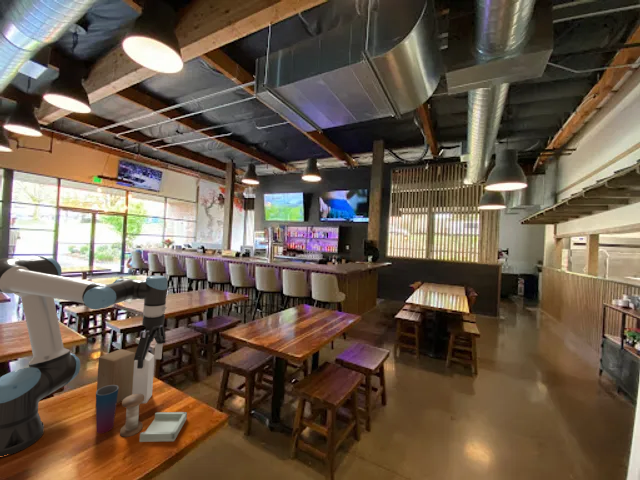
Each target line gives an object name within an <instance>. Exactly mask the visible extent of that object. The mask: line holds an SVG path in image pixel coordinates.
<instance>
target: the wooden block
mask: <svg viewBox="0 0 640 480" xmlns="http://www.w3.org/2000/svg"><path fill="white" fill-rule="evenodd" d="M135 354H136V352H133V351H130V350H127V349H121V348H120V349H117V350H114V351H111V352H109V353H106V354H103V355H100V357H99V358H98V365H97V377H96V378H97V381H96V382H97V383H96V391H97V390H98V389H100V388H102V387H104V386H108V385H117V386H118V387H119V388H118V396H117V403H116V405H117V404H119V403H120V402H122V401H123V399H124V398H126V397H127V396H130V395H132V389H133V373H134V361H135V360H134V357H135Z"/></svg>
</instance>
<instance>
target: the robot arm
mask: <svg viewBox="0 0 640 480" xmlns="http://www.w3.org/2000/svg"><path fill="white" fill-rule="evenodd" d="M62 274H63V273H62V267H61V264H60V263H59V262H58V261H57V260H56V259H54V258H53V257H50V256H48V255H47V256H46V255H30V256H19V257H18V256H17V257H4V258H0V293H4V294H14V295H16V296H18V297H20V298H21V302H22V303H21V304H22V307H23V313H24V318H25V322H26V323H25V324H26V328H27V332H28V333H27V334H28V338H29V343H30V347H31V352H32V358H31V360H29V362H28V367H23V368H19V369H18V370H13V371H9V372H7V373H6V374H3V375H2V376H0V456H4V455H7V454H12V455H14V454H17V453H18V451H19V452H21V451H23V450H25V449H27V448H29V447H30V446H32V445H33V444H35V443H36V442H37V441H39V440H40V438H42V436H43V435H44V432H45V431H44V429H45V425H44V424H45V423H44V422H43V421H41V416H40V414H39V403H40V400H42V399H43V398H45V397H47V396H49V395H51V394H52V393H54V392H56V391H57V390H60V388H63V387H65V386H66V385H68V384H70V382H71V381H73V380H74V379H76V378H77V376H78V374H79V373H80V369H81V360H80V358H79V357H78V356H76V354H75V353H72V352H71V351H70V349H68V348H66V347H64V342H63V339H62V332H61V328H60V323H59V319H58V313H57V308H56V302H55V299H58V300H64V301H69V302H76V303H81V304H84V305H85V306H86V307H88V308H89V309H90V310H100V309H101V310H102V309H106V308H108V307H110V306H114V305H116V304H119V303H122V302H126V301H127V300H133V299H134V300H135V299H136V300H143V301H144V302H143V310H142V315H143V316H142V321H141V322H142V323H141V324H142V325H143V326H144V327H145V330H144V331H141V332H140V336H139V340H138V344H137V348H136V351H135V357H134V360H137V372H136V376H145V368H146V358H145V357H146V354H147V352H149V348H150V346H151V344H152V342H154V340H155V344H154V354H153V355H154V360H162V356H163V355H162V354H163V345H164V344H165V343H166V331H165V326H164V325H165V318H166V317H165V316H166V314H165V313H166V309H167V307H166V304H167V292H168V287H169V286H168V277H167V276H164V275H149V276H147V277H146V279H135V278H116V279H115V281H113V282H112V283H108V284H107V283H100V282H95V281H89V280H84V279H78V278H73V277H67V276H62ZM20 450H21V451H20ZM16 452H17V453H16ZM13 453H14V454H13Z"/></svg>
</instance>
